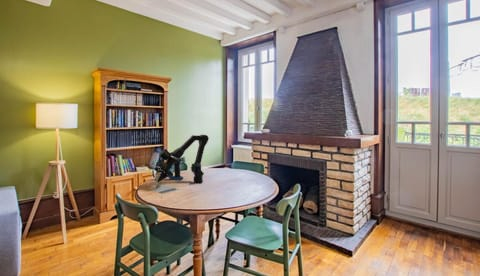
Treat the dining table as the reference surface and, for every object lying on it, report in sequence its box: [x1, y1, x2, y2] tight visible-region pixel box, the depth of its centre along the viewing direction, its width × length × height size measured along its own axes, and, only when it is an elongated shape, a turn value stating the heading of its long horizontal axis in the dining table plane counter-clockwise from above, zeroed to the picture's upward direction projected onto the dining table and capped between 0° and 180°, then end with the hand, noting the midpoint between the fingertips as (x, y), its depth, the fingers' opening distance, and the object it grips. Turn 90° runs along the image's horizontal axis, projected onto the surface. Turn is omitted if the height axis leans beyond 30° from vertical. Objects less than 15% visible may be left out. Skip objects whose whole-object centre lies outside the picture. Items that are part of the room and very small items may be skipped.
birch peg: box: [154, 172, 162, 188], centre depth 193 cm, size 4×4×11 cm
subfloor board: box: [147, 184, 181, 195], centre depth 190 cm, size 20×14×2 cm
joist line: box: [158, 187, 178, 194], centre depth 185 cm, size 12×4×1 cm, turn 139°
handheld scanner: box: [167, 156, 186, 181], centre depth 223 cm, size 5×16×20 cm, turn 78°
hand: (156, 181), depth 192 cm, fingers closed on birch peg, 4 cm apart
